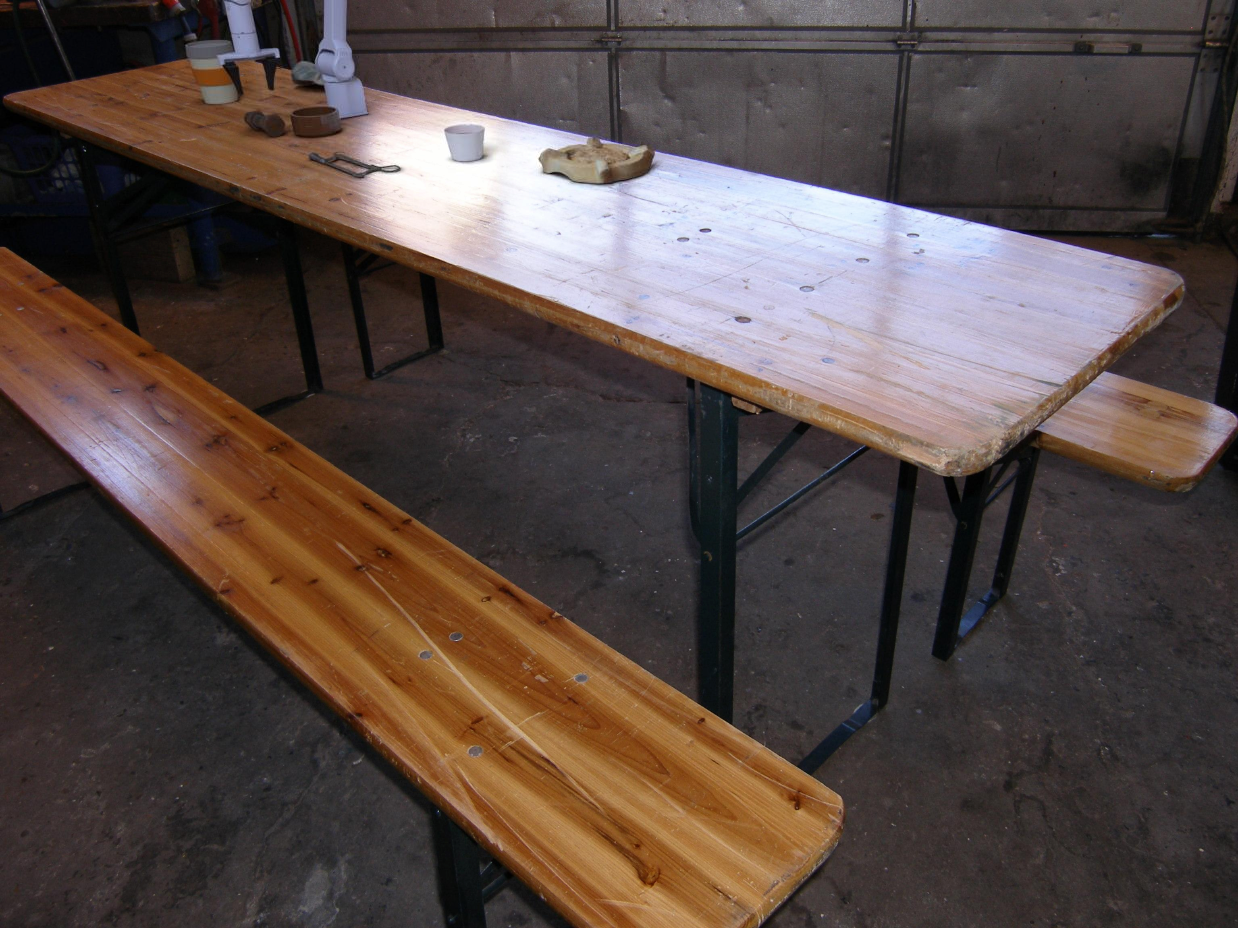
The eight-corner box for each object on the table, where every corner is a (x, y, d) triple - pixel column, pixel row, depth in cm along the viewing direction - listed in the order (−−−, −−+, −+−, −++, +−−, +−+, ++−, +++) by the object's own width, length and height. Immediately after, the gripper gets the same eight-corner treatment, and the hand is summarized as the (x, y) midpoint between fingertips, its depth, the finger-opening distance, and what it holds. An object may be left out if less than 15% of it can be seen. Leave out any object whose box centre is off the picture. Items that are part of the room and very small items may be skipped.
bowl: (330, 124, 248) (326, 104, 245) (349, 132, 240) (345, 112, 237) (286, 131, 242) (282, 111, 240) (304, 140, 234) (300, 119, 232)
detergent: (285, 87, 287) (333, 97, 272) (282, 62, 284) (330, 69, 269) (324, 84, 296) (372, 93, 281) (321, 59, 292) (369, 66, 278)
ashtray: (571, 192, 195) (570, 167, 192) (526, 164, 213) (524, 141, 210) (673, 174, 204) (673, 150, 201) (621, 149, 222) (620, 127, 219)
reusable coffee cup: (253, 98, 276) (241, 42, 268) (217, 107, 267) (204, 49, 259) (225, 94, 282) (212, 39, 274) (188, 102, 273) (174, 45, 265)
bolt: (255, 133, 249) (281, 141, 239) (236, 126, 245) (262, 134, 235) (261, 110, 248) (287, 118, 238) (243, 103, 244) (268, 110, 234)
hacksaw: (306, 159, 220) (305, 153, 219) (346, 150, 226) (345, 144, 225) (363, 180, 205) (361, 173, 204) (404, 170, 211) (403, 163, 210)
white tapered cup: (471, 150, 224) (468, 122, 220) (495, 157, 218) (492, 128, 215) (439, 158, 218) (435, 129, 215) (463, 165, 213) (460, 136, 210)
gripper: (218, 38, 224) (232, 99, 232) (279, 31, 231) (290, 90, 239) (208, 34, 229) (222, 94, 236) (268, 27, 236) (280, 86, 244)
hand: (256, 92), depth 238 cm, fingers open, 7 cm apart
